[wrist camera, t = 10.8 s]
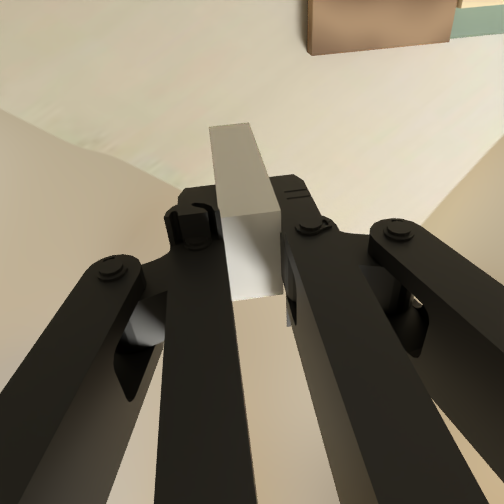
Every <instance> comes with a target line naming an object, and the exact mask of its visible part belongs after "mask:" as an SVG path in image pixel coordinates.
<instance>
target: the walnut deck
mask: <svg viewBox="0 0 504 504" xmlns="http://www.w3.org/2000/svg"><path fill="white" fill-rule="evenodd" d="M456 5H457V0H308V31H307V52H308V53H309V54H310V55H312V56H316V55H326V54H336V53H345V52H355V51H365V50H375V49H385V48H395V47H405V46H415V45H425V44H434V43H444V42H449V40H450V35H451V30H452V25H453V20H454V15H455V10H456Z"/></svg>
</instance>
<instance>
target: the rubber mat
mask: <svg viewBox="0 0 504 504" xmlns="http://www.w3.org/2000/svg"><path fill="white" fill-rule="evenodd" d="M503 33H504V4H503V5H492V6H482V7H471V8H456V10H455V15H454V20H453V25H452V30H451V35H450V39H453V38H463V37H473V36H483V35H493V34H503Z"/></svg>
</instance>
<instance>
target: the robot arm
mask: <svg viewBox="0 0 504 504" xmlns="http://www.w3.org/2000/svg"><path fill="white" fill-rule="evenodd" d="M209 132H210V141H211V150H212V159H213V167H214V176H215V185H209V186H200V187H192V188H185V189H184V190H183V191H182V193H181V194H180V195H179V196H178V205H175V206H173V207H172V208H171V209H169V210H168V211H167V212H166V214H165V216H164V220H165V225H166V229H167V233H168V238H169V242H170V251H169V252H168V253H167V254H166V255H164V256H162V257H161V258H159V259H156V260H154V261H151V262H148V263H146V264H142V265H141V264H140V262H139V260H138V259H137V258H135V257H133V256H131V255H124V254H122V255H112V256H109V257H106V258H103V259H101V260H99V261H97V262H95V263H94V264H92V265H91V266H90V267H89V268H88V269H87V270H86V271H85V273H84V274H83V276H82V277H81V278H80V280H79V281H78V283H77V284H76V286H75V287H74V289H73V290H72V291H71V293H70V294H69V296H68V297H67V298H66V300H65V301H64V303H63V304H62V306H61V307H60V308H59V310H58V311H57V313H56V314H55V316H54V317H53V319H52V320H51V322H50V323H49V324H48V326H47V327H46V329H45V330H44V331H43V333H42V334H41V336H40V337H39V339H38V340H37V342H36V343H35V344H34V346H33V348H32V349H31V350H30V352H29V353H28V354H27V356H26V357H25V359H24V360H23V362H22V363H21V364H20V366H19V367H18V369H17V370H16V372H15V373H14V375H13V376H12V377H11V379H10V380H9V382H8V383H7V385H6V386H5V388H4V389H3V390H2V392H1V393H0V504H106V502H107V500H108V497H109V494H110V491H111V488H112V486H113V483H114V480H115V478H116V475H117V472H118V469H119V467H120V464H121V461H122V458H123V456H124V453H125V450H126V448H127V445H128V442H129V439H130V437H131V434H132V431H133V428H134V426H135V423H136V420H137V418H138V415H139V412H140V409H141V407H142V404H143V401H144V399H145V396H146V393H147V390H148V388H149V385H150V382H151V380H152V377H153V374H154V371H155V369H156V366H157V363H158V360H159V358H160V355H161V352H162V350H163V344H164V354H163V369H162V385H161V400H160V417H159V431H158V448H157V464H156V478H155V494H154V504H258V501H257V493H256V485H255V478H254V470H253V461H252V454H251V447H250V438H249V431H248V422H247V414H246V406H245V399H244V391H243V383H242V375H241V367H240V359H239V351H238V344H237V336H236V328H235V320H234V313H233V305H232V301H237V300H244V299H251V298H259V297H265V296H273V295H280V294H283V283H284V287H285V290H286V308H287V327H289V326H292V329H293V333H294V336H295V340H296V344H297V347H298V351H299V355H300V358H301V362H302V366H303V369H304V373H305V377H306V380H307V384H308V387H309V391H310V395H311V399H312V402H313V406H314V409H315V413H316V417H317V420H318V424H319V428H320V431H321V435H322V438H323V442H324V446H325V450H326V453H327V457H328V460H329V464H330V468H331V471H332V475H333V478H334V482H335V486H336V490H337V493H338V497H339V501H340V504H489V503H488V501H487V499H486V497H485V496H484V494H483V492H482V490H481V488H480V486H479V485H478V483H477V481H476V479H475V477H474V475H473V474H472V472H471V470H470V468H469V466H468V464H467V463H466V461H465V459H464V457H463V455H462V454H461V452H460V450H459V448H458V446H457V444H456V443H455V441H454V439H453V437H452V435H451V434H450V432H449V430H448V428H447V426H446V424H445V423H444V421H443V419H442V417H441V415H440V414H439V412H438V410H437V408H436V406H435V404H434V402H435V403H436V404H437V405H438V406H439V408H440V409H441V410H442V411H443V412H444V413H445V415H446V416H447V417H448V418H449V419H450V420H451V422H452V423H453V424H454V425H455V426H456V427H457V429H458V430H459V431H460V432H461V433H462V434H463V436H464V437H465V438H466V439H467V440H468V441H469V443H470V444H471V445H472V446H473V447H474V449H475V450H476V451H477V452H478V453H479V454H480V456H481V457H482V458H483V459H484V460H485V461H486V463H487V464H488V465H489V466H490V467H491V468H492V470H493V471H494V472H495V473H496V474H497V475H498V477H499V478H500V479H501V480H502V481H503V483H504V286H503V285H502V284H501V283H499V282H498V281H496V280H495V279H494V278H492V277H491V276H489V275H488V274H487V273H485V272H484V271H483V270H481V269H479V268H478V267H477V266H475V265H474V264H473V263H471V262H470V261H469V260H467V259H466V258H464V257H463V256H462V255H460V254H459V253H458V252H456V251H455V250H453V249H452V248H451V247H449V246H448V245H446V244H445V243H444V242H442V241H441V240H439V239H438V238H437V237H435V236H434V235H433V234H431V233H430V232H428V231H427V230H426V229H424V228H423V227H421V226H420V225H418V224H416V223H414V222H412V221H408V220H404V219H398V218H397V219H396V218H391V219H384V220H380V221H378V222H376V223H374V224H373V225H372V227H371V228H370V234H369V235H365V234H352V233H345V232H341V231H339V229H338V227H337V225H336V224H335V223H334V222H333V221H332V220H331V219H329V218H327V217H325V216H321V214H320V212H319V210H318V208H317V206H316V204H315V202H314V200H313V198H312V197H311V194H310V192H309V191H308V189H307V187H306V185H305V183H304V181H303V180H302V179H300V178H299V177H297V176H295V175H294V174H291V175H283V176H274V177H269V176H268V174H267V171H266V168H265V165H264V163H263V160H262V157H261V154H260V152H259V149H258V146H257V143H256V141H255V138H254V135H253V132H252V130H251V127H250V124H249V123H241V124H232V125H223V126H213V127H209ZM414 296H415V297H416V298H417V299H418V300H419V301H420V302H421V303H422V304H423V305H421V304H420V303H418V302H417V301H416V300H415V299H414ZM431 398H432V399H433V400H434V402H433V401H432V399H431Z"/></svg>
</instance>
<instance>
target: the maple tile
mask: <svg viewBox="0 0 504 504" xmlns="http://www.w3.org/2000/svg"><path fill="white" fill-rule="evenodd" d="M503 4H504V0H457V5H456V8H471V7H482V6H492V5H503Z"/></svg>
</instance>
